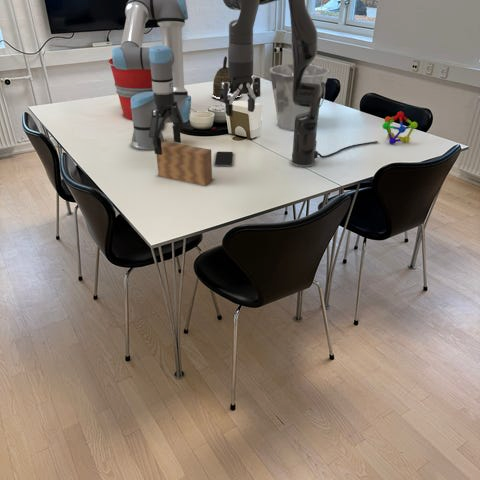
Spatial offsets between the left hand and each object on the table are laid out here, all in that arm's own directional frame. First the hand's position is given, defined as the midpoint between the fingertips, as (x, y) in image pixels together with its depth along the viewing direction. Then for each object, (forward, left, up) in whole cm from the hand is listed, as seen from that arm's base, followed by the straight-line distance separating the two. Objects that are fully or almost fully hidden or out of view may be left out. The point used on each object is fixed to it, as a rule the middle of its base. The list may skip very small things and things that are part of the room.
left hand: (168, 147), depth 172 cm
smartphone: (-18, +19, -11) cm, 29 cm away
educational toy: (-50, +97, -11) cm, 110 cm away
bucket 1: (-80, -35, -11) cm, 88 cm away
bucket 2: (-71, +49, -11) cm, 87 cm away
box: (+3, +7, -11) cm, 13 cm away
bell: (-123, +5, -11) cm, 124 cm away
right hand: (+22, +31, +21) cm, 43 cm away
